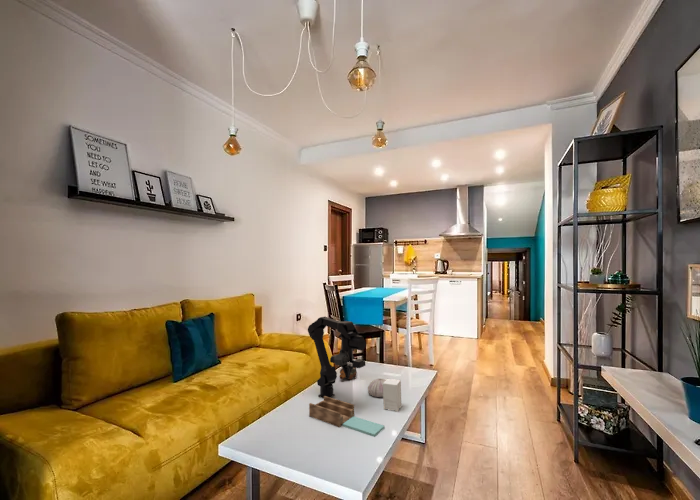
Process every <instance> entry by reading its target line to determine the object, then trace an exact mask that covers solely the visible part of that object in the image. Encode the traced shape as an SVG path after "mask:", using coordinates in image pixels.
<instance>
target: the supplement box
mask: <svg viewBox="0 0 700 500" xmlns="http://www.w3.org/2000/svg"><path fill="white" fill-rule="evenodd" d="M382 400H383V403H382V404H383V410H385V409H389V410H388V411H391V410H395V411H394V412H397V411H398V412H399V410H400V409H401V407H402V406H401V405H402V382H401V379H394V378H393V379H392V378H387V379H385V382H384V383H383V397H382ZM399 408H400V409H399Z"/></svg>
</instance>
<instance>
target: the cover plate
mask: <svg viewBox="0 0 700 500" xmlns="http://www.w3.org/2000/svg"><path fill="white" fill-rule="evenodd" d="M342 427H344V428H346V429H350V430H353V431H354V432H355V431H356V432H359V433H362V434H365V435H368V436H371V437H374V438H375V437H376V436H377V435H378V434H380V433H381V432H382V431H383V430H384V429H385V425H383V424H381V423H377V422H374V421H372V420H368V419H366V418H365V419H364V418H360V417H358V416H355V415H354V416H353V417H352V418H350V419H349V420H347V421H346V422H345V423H343V425H342Z"/></svg>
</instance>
